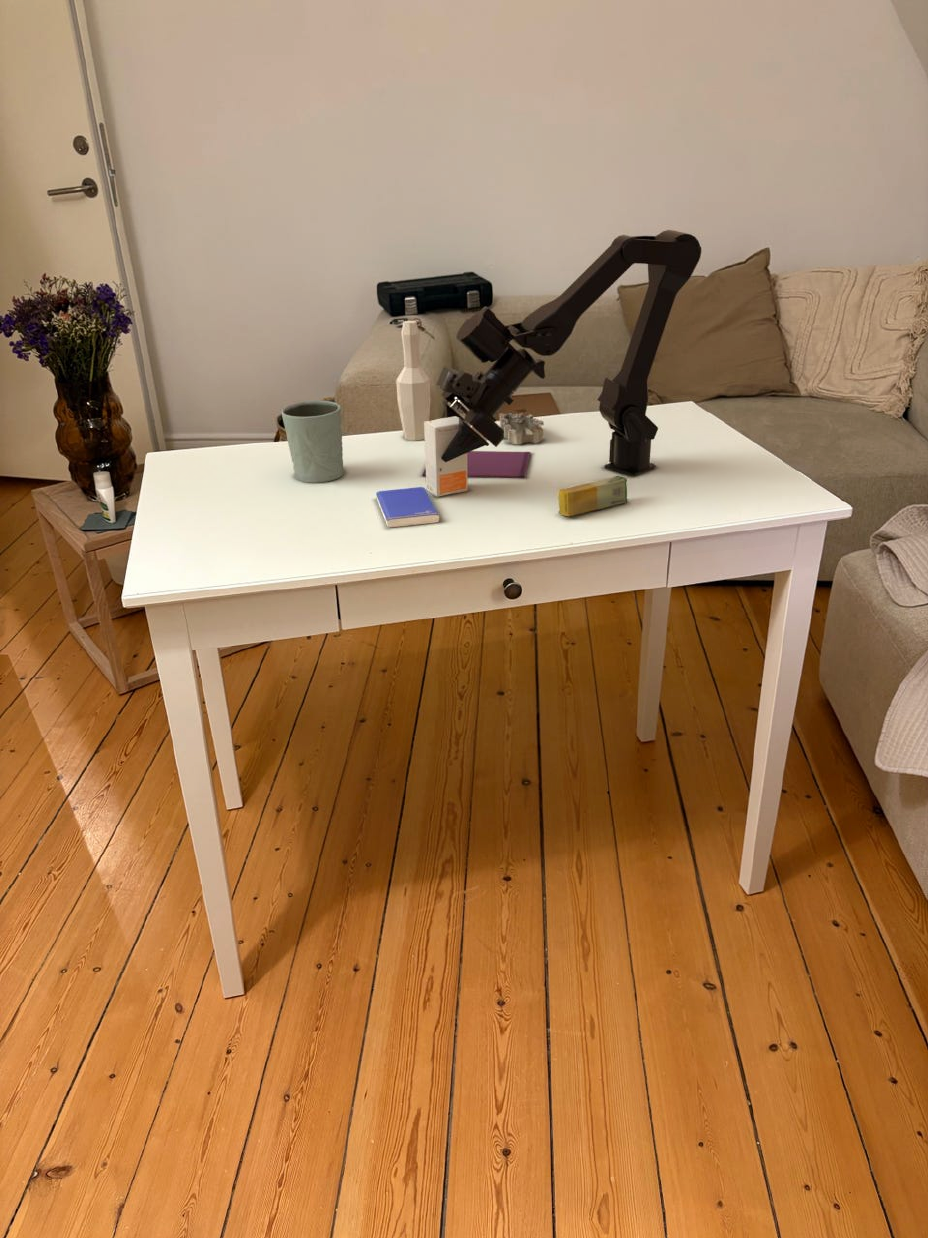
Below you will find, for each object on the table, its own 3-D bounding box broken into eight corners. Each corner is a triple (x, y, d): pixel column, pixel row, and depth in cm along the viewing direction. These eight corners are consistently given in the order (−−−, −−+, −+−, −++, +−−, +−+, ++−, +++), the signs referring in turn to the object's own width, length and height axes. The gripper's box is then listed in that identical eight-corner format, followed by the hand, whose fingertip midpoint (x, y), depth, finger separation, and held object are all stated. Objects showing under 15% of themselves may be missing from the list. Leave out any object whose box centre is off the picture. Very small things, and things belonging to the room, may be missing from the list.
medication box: (617, 499, 158) (617, 475, 156) (628, 502, 156) (628, 478, 154) (557, 513, 152) (557, 488, 151) (568, 517, 150) (567, 492, 149)
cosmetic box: (437, 498, 161) (434, 427, 155) (426, 490, 164) (422, 421, 158) (469, 491, 163) (467, 421, 157) (458, 483, 166) (455, 415, 161)
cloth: (530, 453, 179) (530, 451, 179) (524, 478, 168) (524, 475, 168) (434, 452, 182) (434, 450, 181) (422, 476, 170) (422, 473, 170)
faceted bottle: (431, 441, 188) (426, 324, 177) (398, 442, 188) (391, 325, 177) (432, 431, 193) (427, 317, 183) (401, 432, 193) (393, 318, 183)
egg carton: (545, 443, 184) (545, 422, 182) (506, 446, 184) (506, 425, 182) (535, 427, 194) (535, 406, 192) (497, 429, 193) (497, 409, 191)
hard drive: (438, 512, 151) (424, 486, 161) (386, 518, 149) (375, 491, 160) (439, 522, 151) (425, 494, 162) (387, 527, 150) (376, 500, 161)
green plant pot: (352, 479, 170) (346, 412, 164) (295, 487, 167) (287, 419, 161) (339, 462, 178) (333, 397, 173) (284, 469, 175) (276, 404, 170)
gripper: (451, 336, 161) (390, 408, 164) (482, 361, 145) (415, 440, 148) (497, 379, 167) (437, 448, 170) (532, 407, 151) (466, 483, 154)
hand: (438, 454), depth 160 cm, fingers open, 6 cm apart
